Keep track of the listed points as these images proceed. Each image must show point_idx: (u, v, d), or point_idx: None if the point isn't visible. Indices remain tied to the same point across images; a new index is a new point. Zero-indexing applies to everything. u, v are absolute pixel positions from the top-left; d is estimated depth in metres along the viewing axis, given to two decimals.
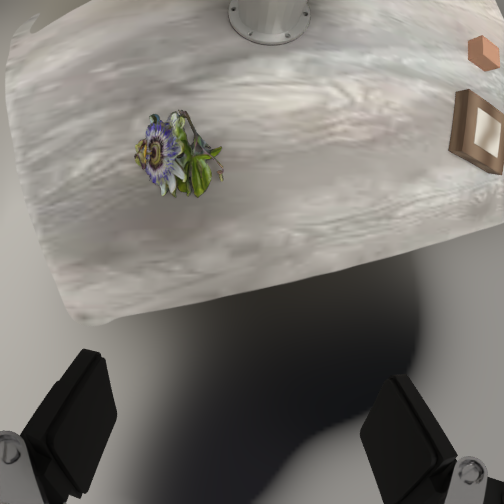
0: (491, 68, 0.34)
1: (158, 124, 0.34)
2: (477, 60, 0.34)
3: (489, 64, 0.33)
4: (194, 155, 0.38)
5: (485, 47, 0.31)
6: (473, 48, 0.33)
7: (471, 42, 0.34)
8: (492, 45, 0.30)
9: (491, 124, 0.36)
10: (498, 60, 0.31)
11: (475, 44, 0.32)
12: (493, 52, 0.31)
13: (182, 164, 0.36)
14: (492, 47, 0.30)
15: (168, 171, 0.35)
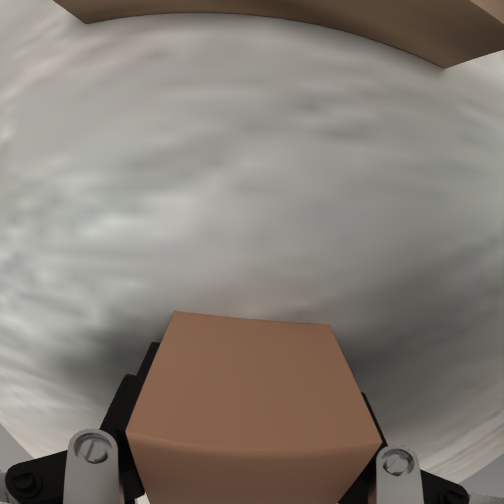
0: (169, 365, 0.07)
1: None
2: (309, 358, 0.08)
3: (226, 398, 0.06)
4: None
5: (314, 496, 0.05)
6: None
7: None
8: None
9: None
10: (153, 474, 0.05)
11: None
12: (221, 500, 0.05)
13: None
14: None
15: None
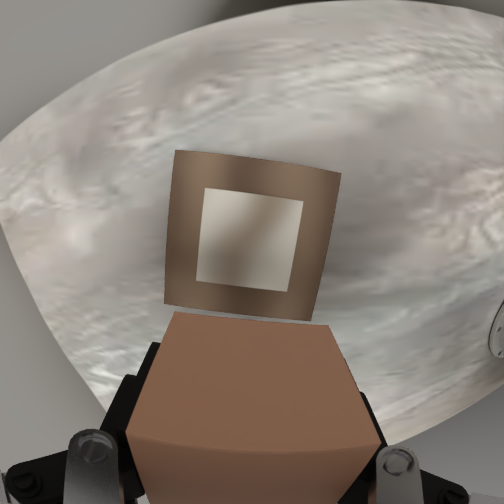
0: (169, 366, 0.07)
1: None
2: (308, 359, 0.08)
3: (226, 399, 0.06)
4: None
5: (313, 496, 0.05)
6: None
7: None
8: None
9: (236, 266, 0.22)
10: (152, 474, 0.05)
11: None
12: (221, 500, 0.05)
13: None
14: None
15: None
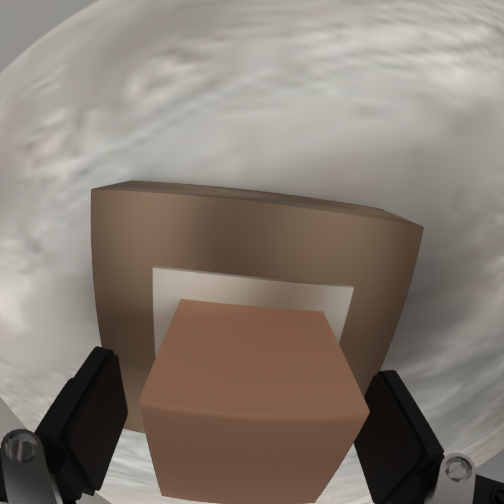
0: (178, 344, 0.07)
1: None
2: (303, 339, 0.08)
3: (229, 372, 0.07)
4: None
5: (310, 468, 0.06)
6: None
7: None
8: (226, 496, 0.07)
9: None
10: (161, 444, 0.06)
11: None
12: (224, 472, 0.06)
13: None
14: (233, 488, 0.06)
15: None
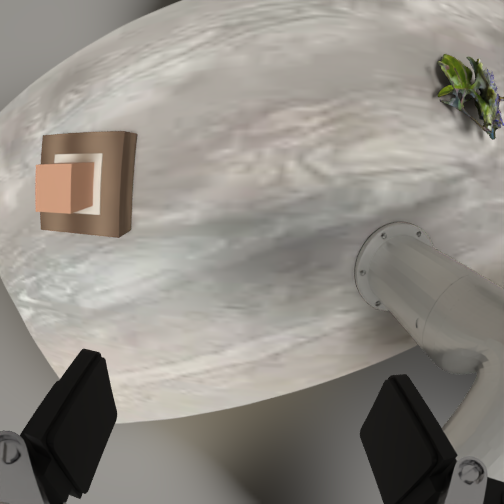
0: None
1: (501, 122, 0.25)
2: None
3: None
4: (464, 89, 0.27)
5: (64, 187, 0.25)
6: (85, 184, 0.28)
7: (88, 199, 0.29)
8: (49, 206, 0.25)
9: None
10: (37, 179, 0.24)
11: (82, 193, 0.27)
12: (48, 189, 0.25)
13: (479, 80, 0.24)
14: (50, 199, 0.25)
15: (489, 76, 0.23)
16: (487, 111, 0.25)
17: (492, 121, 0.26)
